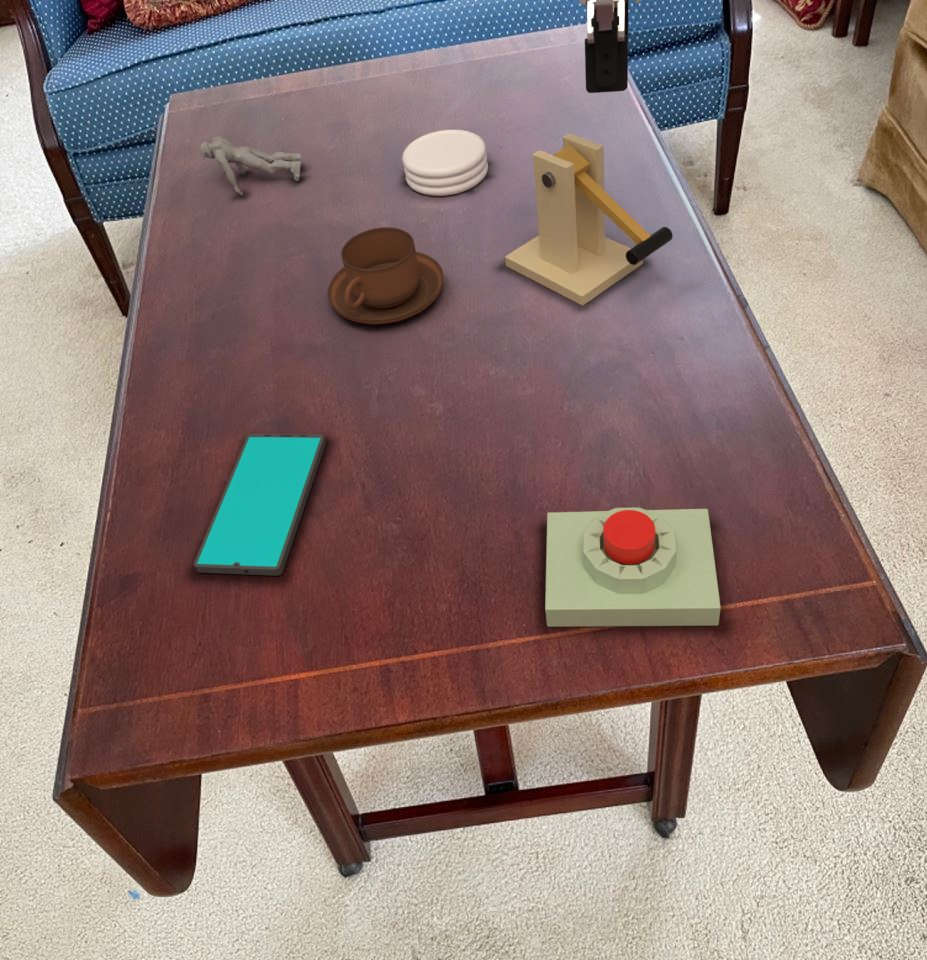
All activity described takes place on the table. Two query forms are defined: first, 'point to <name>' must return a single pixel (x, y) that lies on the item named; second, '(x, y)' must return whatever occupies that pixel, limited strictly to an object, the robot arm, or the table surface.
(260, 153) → the soldier figurine
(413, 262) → the cup and saucer
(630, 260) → the lever
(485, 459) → the table surface
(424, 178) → the coaster
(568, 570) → the button block
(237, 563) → the smartphone
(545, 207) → the bracket
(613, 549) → the button
